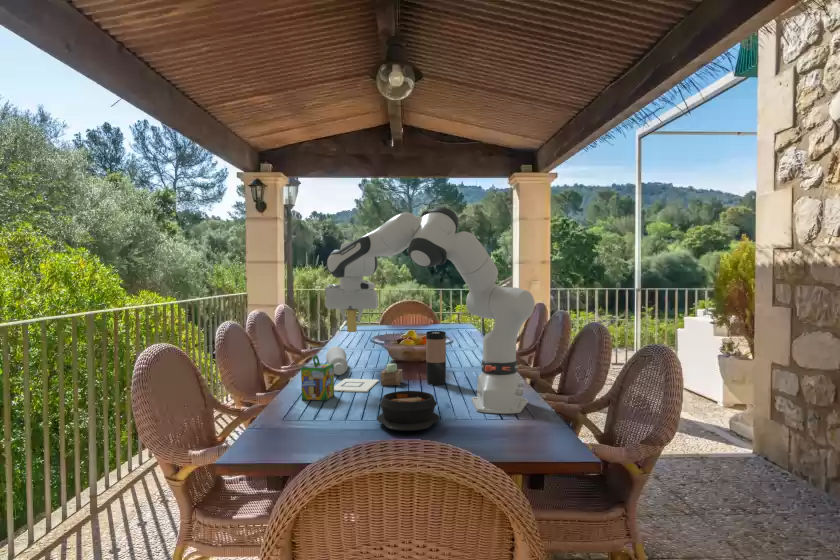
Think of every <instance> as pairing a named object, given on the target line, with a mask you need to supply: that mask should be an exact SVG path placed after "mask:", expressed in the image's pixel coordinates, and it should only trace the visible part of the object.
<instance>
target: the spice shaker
mask: <svg viewBox="0 0 840 560" xmlns="http://www.w3.org/2000/svg"><path fill="white" fill-rule="evenodd" d="M357 310H358V309H353V308H352V306H349V308H348V309H346V316H347V321H346V330H347V331H346V332H348V333H357V331H358V330H357V328H358V325H357V323H358V321H356V316H358V314H357Z"/></svg>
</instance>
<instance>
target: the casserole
mask: <svg viewBox="0 0 840 560" xmlns="http://www.w3.org/2000/svg"><path fill="white" fill-rule="evenodd" d="M437 404H438V402H437V400H435V397H434V395H433V394H431V393H429V392H426V391H419V390H398V391H393V392H388V393H386V394H384V395H383V396H382V399H381V401H380V402H379V406H380V407H381V410H382V413H380V414H378V416H377V417H376V420H377V422H379V423H381V424H382V425H384V426H385V427H386V428H387V429H389V430H391V431H392V430H394V431H401V432H403V431H404V432H409V431H410V432H411V431H422V430H427V429H429V428H430V427H432V425H433V424H436V423H437V422H439V420H440V419H441V417H440V416H439V415H438V414H437V413H436V412H435V409H436V406H437Z"/></svg>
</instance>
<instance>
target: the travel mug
mask: <svg viewBox="0 0 840 560" xmlns="http://www.w3.org/2000/svg"><path fill="white" fill-rule="evenodd" d="M446 337H447V336H446V331H443V330H428V331H426V338H425V339H426V341H425V342H426V343H425V344H426V348H425V349H426V350H425V352H426V354H425V355H426V359H425V360H426V362H425V364H426V382H427V383H428V384H427V383H426V384H427V385H430V384H432V386H441V384H443V385H445V384H446V379H447V377H446V375H447V374H446V372H447V371H446V369H447V353H446V352H447V346H446V345H447V341H446V339H447V338H446Z"/></svg>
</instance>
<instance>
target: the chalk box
mask: <svg viewBox="0 0 840 560" xmlns="http://www.w3.org/2000/svg"><path fill="white" fill-rule="evenodd" d="M312 361H313V363H312V362H311V363H308V364H305V365H303V366H301V367H300V371H301V372H300V373H301V374H300V375H301V377H300V378H301V379H300V380H301V401H325V402H326V401H327V400H329V399H330V398H332V397H334V396H335V392H334V386H335V376H334V375H335V374H334V365H333V364H328V363H323V362H320V359H319V355H317V354H316V355H314V356H312Z"/></svg>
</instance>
